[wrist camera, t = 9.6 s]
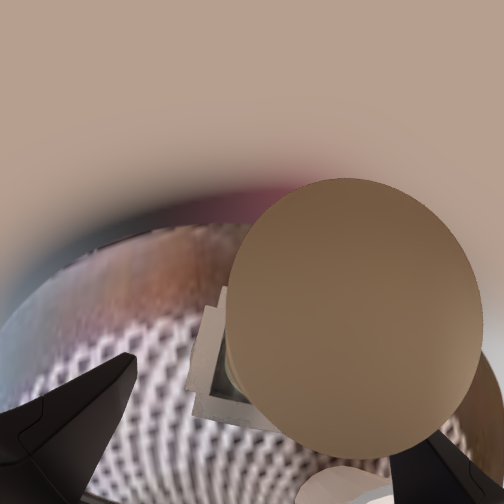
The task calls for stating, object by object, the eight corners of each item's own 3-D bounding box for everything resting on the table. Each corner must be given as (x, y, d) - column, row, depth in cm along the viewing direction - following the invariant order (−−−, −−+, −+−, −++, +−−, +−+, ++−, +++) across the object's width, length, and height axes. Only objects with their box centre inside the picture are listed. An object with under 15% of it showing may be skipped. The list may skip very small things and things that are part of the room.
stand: (301, 432, 17) (327, 449, 12) (179, 409, 17) (163, 420, 12) (322, 319, 20) (351, 299, 15) (208, 295, 20) (202, 267, 15)
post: (291, 404, 13) (471, 452, 2) (217, 390, 13) (184, 441, 3) (305, 333, 15) (474, 215, 4) (233, 319, 15) (258, 147, 4)
